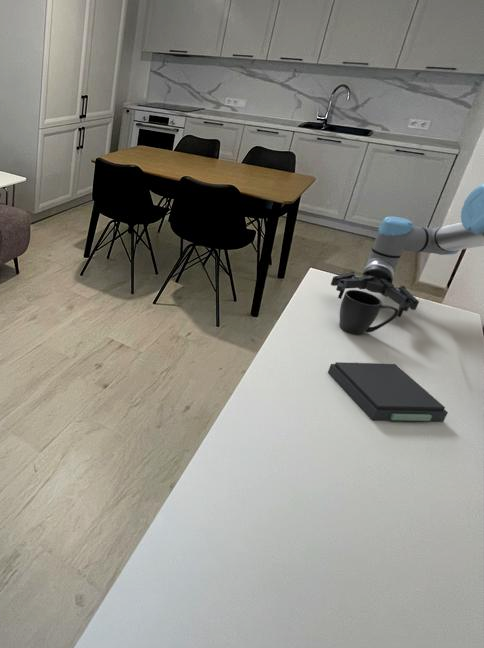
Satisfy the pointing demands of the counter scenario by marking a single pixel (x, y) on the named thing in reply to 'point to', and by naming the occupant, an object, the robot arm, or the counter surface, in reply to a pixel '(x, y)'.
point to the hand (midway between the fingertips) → (370, 302)
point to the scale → (386, 392)
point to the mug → (361, 312)
